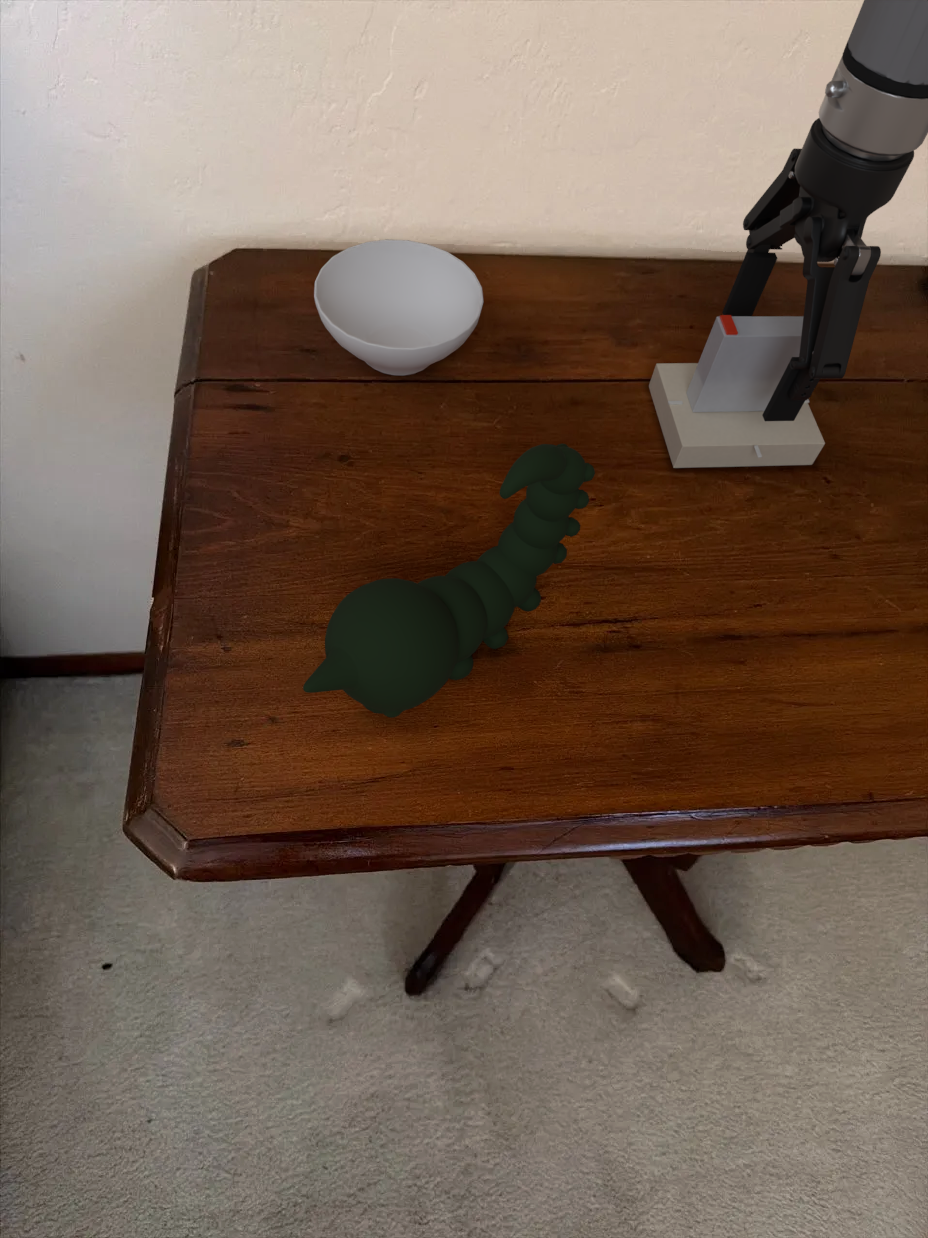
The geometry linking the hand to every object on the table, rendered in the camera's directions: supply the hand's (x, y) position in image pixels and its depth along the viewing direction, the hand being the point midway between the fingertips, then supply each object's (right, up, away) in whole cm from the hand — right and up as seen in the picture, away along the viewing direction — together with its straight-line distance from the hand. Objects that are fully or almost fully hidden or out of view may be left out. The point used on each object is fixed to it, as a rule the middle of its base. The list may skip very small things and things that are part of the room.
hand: (756, 364), depth 81 cm
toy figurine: (-29, -26, -10) cm, 40 cm away
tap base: (-1, -4, +7) cm, 8 cm away
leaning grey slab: (0, -2, +4) cm, 5 cm away
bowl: (-34, +4, +8) cm, 35 cm away
